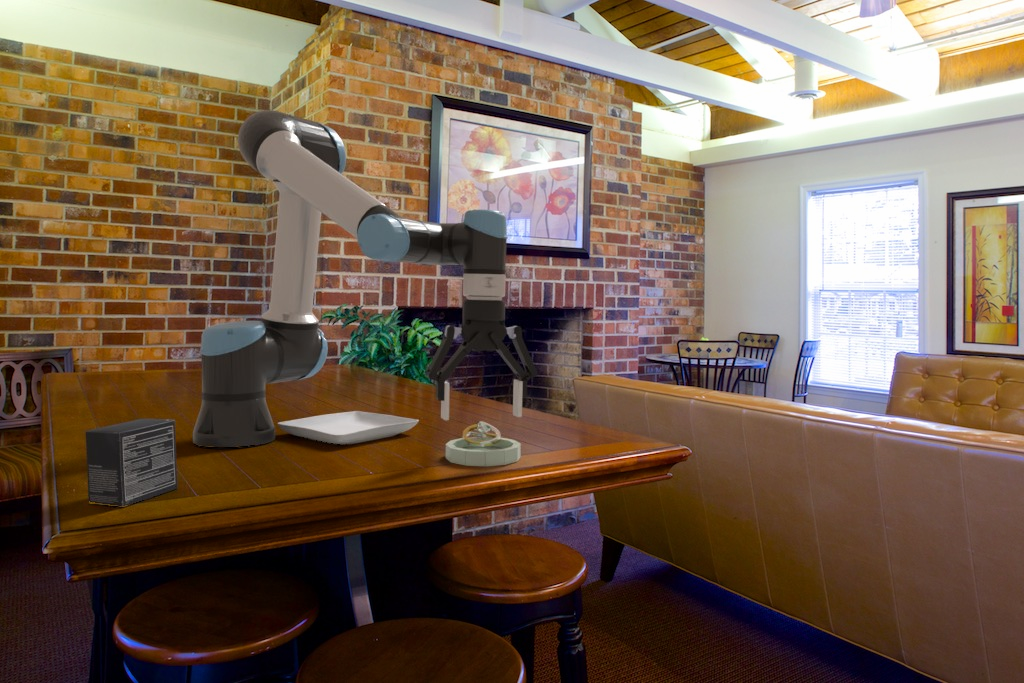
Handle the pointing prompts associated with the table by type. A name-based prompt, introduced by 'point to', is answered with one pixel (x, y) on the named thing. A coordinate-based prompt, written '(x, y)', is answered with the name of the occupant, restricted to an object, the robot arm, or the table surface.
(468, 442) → the bracelet
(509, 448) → the ring dish
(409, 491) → the table surface
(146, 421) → the small box
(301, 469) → the table surface
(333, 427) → the salad plate
